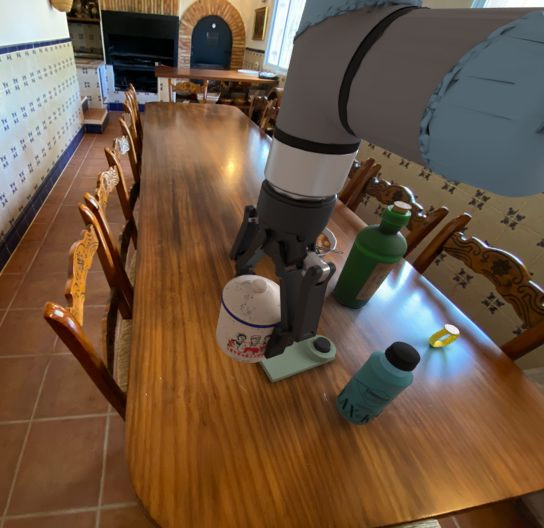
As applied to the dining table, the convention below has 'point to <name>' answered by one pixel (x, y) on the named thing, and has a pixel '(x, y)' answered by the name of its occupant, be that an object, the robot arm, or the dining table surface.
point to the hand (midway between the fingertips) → (254, 327)
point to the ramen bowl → (325, 243)
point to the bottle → (373, 257)
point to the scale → (296, 359)
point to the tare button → (322, 344)
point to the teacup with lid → (248, 317)
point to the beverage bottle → (378, 383)
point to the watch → (445, 331)
